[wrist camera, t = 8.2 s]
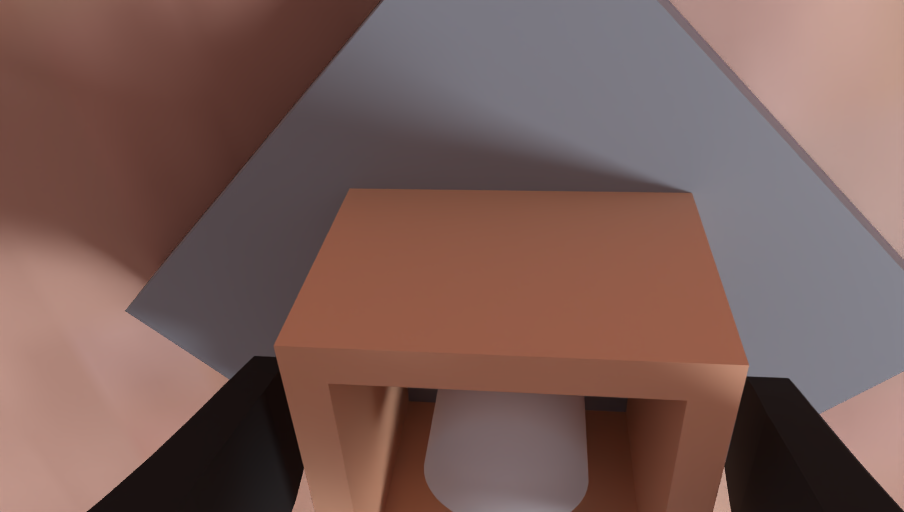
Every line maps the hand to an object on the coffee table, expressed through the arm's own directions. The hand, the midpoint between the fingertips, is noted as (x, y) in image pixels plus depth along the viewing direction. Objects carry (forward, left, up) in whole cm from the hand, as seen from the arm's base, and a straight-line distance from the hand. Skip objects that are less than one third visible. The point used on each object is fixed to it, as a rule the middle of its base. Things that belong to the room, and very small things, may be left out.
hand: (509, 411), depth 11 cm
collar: (0, 0, -2) cm, 2 cm away
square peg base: (0, 0, -4) cm, 4 cm away
